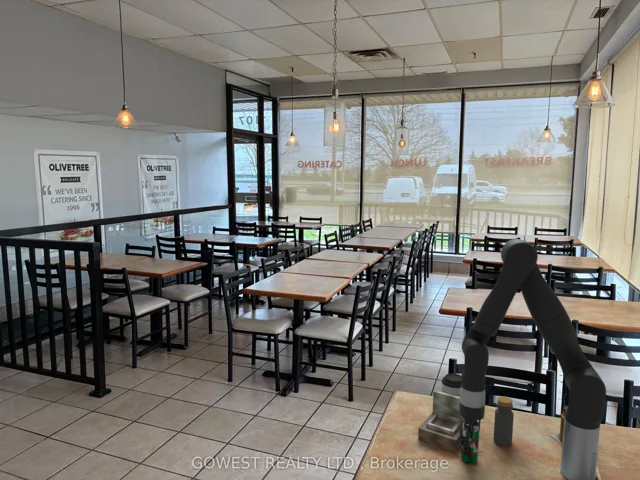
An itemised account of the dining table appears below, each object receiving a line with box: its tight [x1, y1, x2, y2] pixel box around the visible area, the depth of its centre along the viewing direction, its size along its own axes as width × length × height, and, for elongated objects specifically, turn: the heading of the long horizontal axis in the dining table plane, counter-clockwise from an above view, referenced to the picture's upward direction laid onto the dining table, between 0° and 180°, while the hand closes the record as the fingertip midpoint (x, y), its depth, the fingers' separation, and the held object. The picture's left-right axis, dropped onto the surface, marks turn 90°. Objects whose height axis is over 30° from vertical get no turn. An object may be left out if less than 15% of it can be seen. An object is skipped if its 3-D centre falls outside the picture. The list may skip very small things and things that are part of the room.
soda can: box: [460, 425, 480, 465], centre depth 148 cm, size 5×5×12 cm
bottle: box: [493, 395, 515, 447], centre depth 158 cm, size 6×6×15 cm
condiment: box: [549, 405, 568, 445], centre depth 159 cm, size 7×8×12 cm
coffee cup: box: [440, 373, 462, 397], centre depth 176 cm, size 9×9×15 cm
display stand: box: [417, 390, 465, 452], centre depth 161 cm, size 13×14×12 cm
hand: (469, 451), depth 148 cm, fingers closed on soda can, 5 cm apart
